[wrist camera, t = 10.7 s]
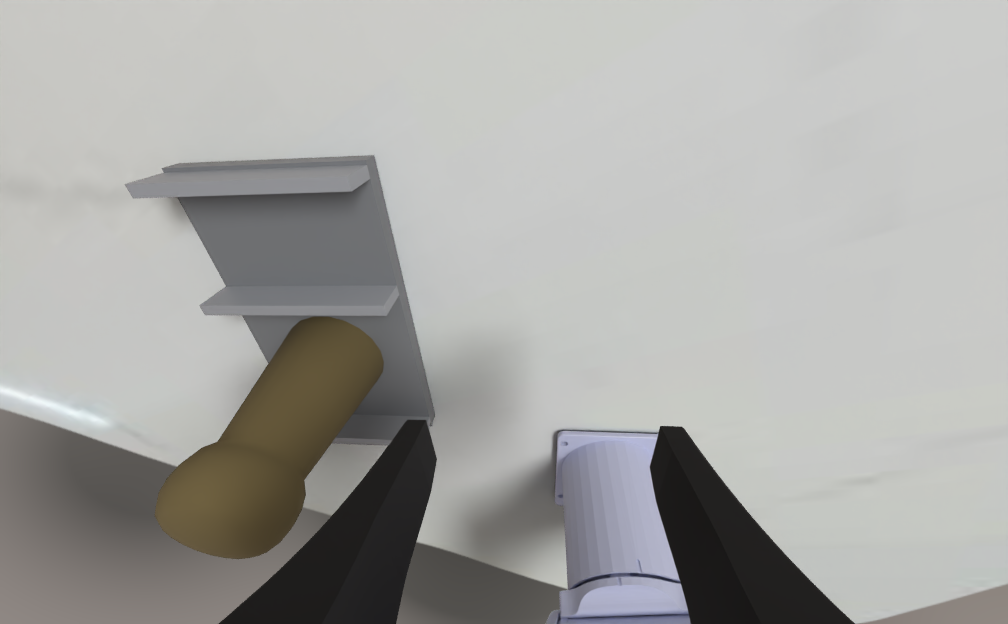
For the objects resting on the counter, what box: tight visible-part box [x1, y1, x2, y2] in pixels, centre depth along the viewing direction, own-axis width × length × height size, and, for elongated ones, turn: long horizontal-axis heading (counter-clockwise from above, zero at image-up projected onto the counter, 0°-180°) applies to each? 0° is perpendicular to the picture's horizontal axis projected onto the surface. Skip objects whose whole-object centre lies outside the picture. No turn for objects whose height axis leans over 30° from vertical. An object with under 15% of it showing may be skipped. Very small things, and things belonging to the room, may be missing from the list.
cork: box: [155, 317, 384, 559], centre depth 19 cm, size 6×6×11 cm
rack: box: [125, 155, 435, 445], centre depth 21 cm, size 18×10×3 cm, turn 3°
